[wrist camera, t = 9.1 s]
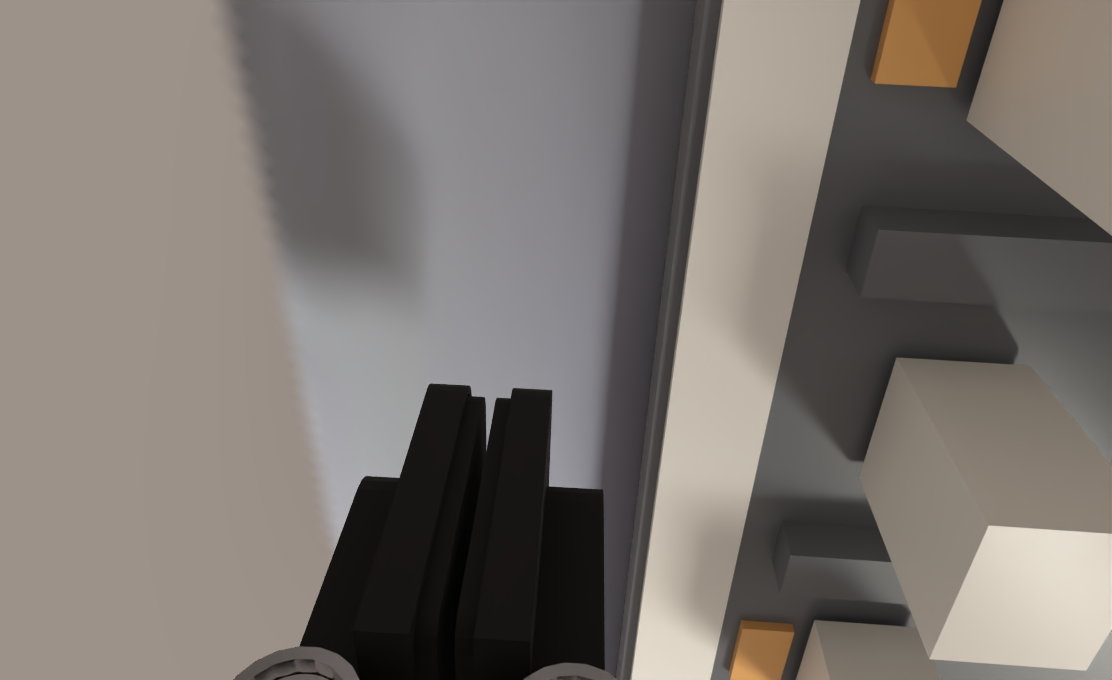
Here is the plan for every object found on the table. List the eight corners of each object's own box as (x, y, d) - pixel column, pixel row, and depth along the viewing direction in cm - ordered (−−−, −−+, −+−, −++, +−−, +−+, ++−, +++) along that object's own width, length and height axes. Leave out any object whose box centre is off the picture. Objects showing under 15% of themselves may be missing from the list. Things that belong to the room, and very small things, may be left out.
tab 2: (980, 485, 13) (1086, 670, 10) (858, 477, 13) (929, 658, 10) (1030, 365, 12) (1168, 538, 9) (896, 357, 12) (988, 525, 9)
